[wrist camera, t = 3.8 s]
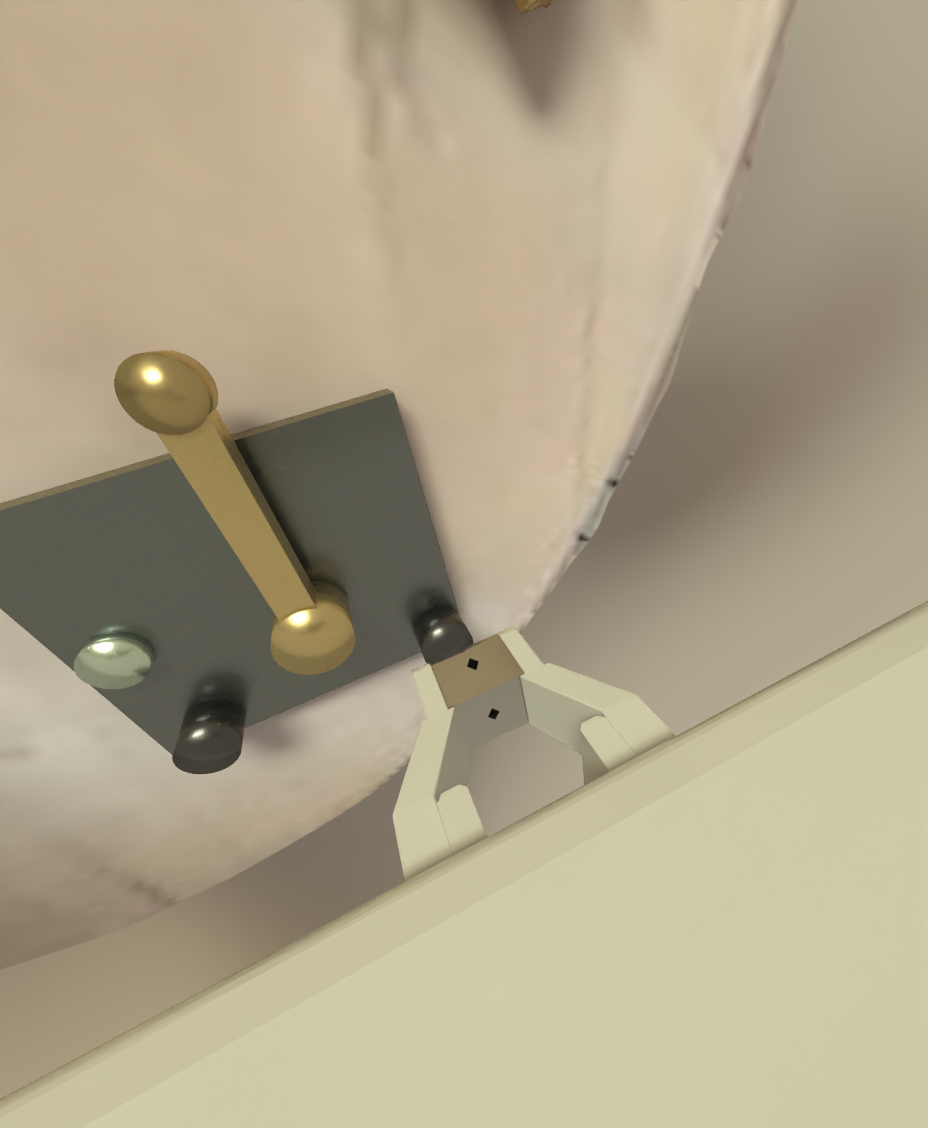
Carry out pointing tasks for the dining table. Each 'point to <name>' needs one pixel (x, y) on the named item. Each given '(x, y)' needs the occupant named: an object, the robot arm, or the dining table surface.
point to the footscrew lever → (237, 506)
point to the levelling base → (230, 577)
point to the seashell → (530, 4)
